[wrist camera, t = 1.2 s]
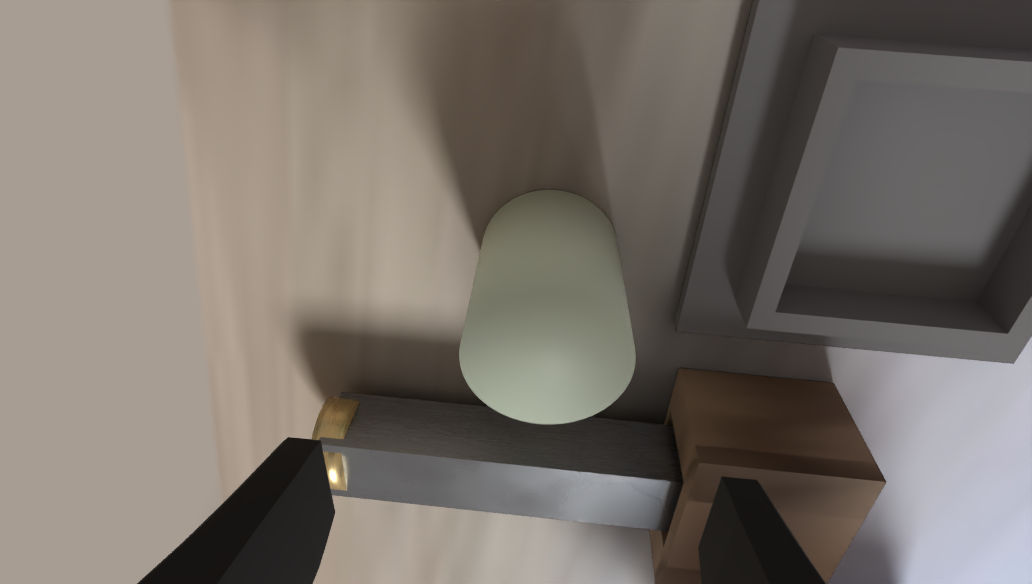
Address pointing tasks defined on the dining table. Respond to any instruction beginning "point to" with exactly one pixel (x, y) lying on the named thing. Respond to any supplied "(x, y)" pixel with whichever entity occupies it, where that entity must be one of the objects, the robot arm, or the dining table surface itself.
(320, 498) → the robot arm
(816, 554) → the brown wooden block
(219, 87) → the dining table surface
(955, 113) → the cradle
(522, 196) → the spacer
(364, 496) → the shaft
